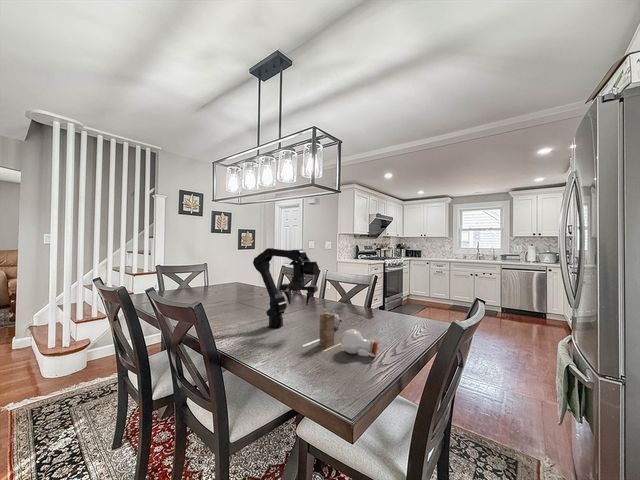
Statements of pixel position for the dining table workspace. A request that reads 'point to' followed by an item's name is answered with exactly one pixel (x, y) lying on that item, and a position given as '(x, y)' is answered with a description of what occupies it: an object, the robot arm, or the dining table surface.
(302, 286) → the robot arm
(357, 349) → the potion bottle
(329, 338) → the walnut block
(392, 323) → the dining table surface
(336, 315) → the game die
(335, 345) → the strip
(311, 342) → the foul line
